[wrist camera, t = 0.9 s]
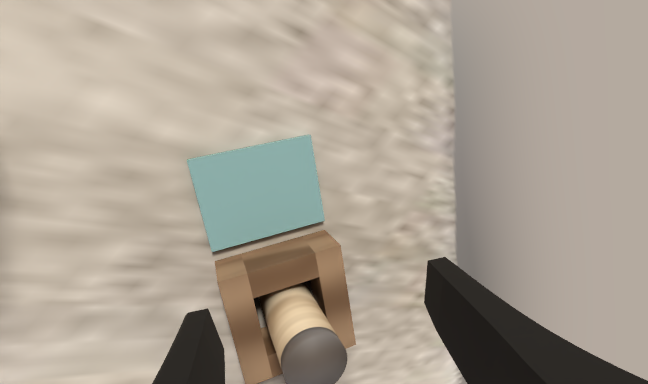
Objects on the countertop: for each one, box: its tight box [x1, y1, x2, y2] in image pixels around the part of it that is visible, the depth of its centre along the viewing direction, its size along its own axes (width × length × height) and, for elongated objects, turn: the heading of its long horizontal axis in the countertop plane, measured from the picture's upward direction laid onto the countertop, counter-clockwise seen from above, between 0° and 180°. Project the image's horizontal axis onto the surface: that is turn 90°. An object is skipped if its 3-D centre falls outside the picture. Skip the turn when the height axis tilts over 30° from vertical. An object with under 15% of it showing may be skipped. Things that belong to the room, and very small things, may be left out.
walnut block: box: [215, 230, 356, 384], centre depth 28 cm, size 9×9×4 cm
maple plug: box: [259, 282, 347, 384], centre depth 26 cm, size 4×4×9 cm
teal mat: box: [187, 135, 325, 252], centre depth 27 cm, size 7×9×1 cm
